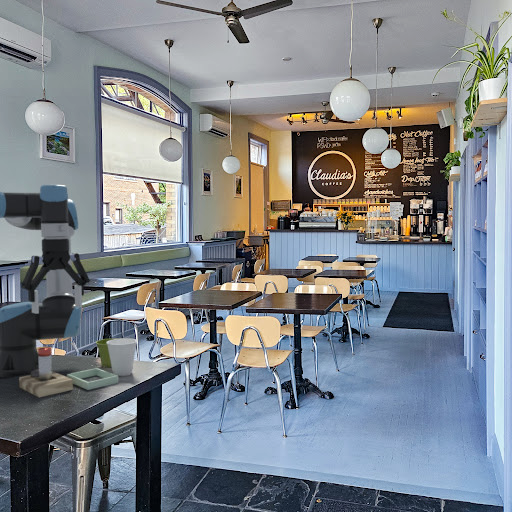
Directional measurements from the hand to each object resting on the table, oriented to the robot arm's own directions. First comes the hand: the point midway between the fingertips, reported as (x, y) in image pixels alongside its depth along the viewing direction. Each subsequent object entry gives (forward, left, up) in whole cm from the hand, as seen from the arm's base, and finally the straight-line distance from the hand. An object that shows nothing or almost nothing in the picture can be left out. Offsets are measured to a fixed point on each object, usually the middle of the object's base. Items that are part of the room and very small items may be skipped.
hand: (57, 309), depth 161 cm
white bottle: (-3, -3, -24) cm, 24 cm away
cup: (-3, +23, -25) cm, 34 cm away
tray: (+1, +10, -25) cm, 26 cm away
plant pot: (-16, +26, -25) cm, 39 cm away
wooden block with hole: (-3, -3, -25) cm, 25 cm away
